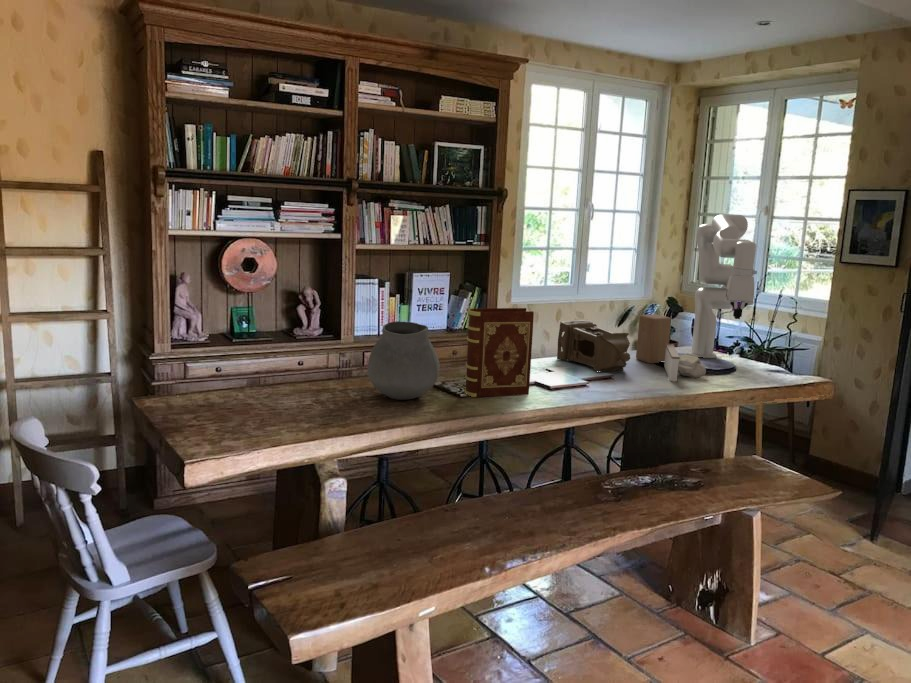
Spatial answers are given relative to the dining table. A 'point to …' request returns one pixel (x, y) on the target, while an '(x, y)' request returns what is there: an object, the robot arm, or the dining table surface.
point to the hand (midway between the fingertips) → (737, 318)
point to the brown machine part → (592, 345)
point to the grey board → (671, 362)
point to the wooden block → (653, 338)
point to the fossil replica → (691, 366)
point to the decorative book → (499, 351)
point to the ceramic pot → (403, 361)
